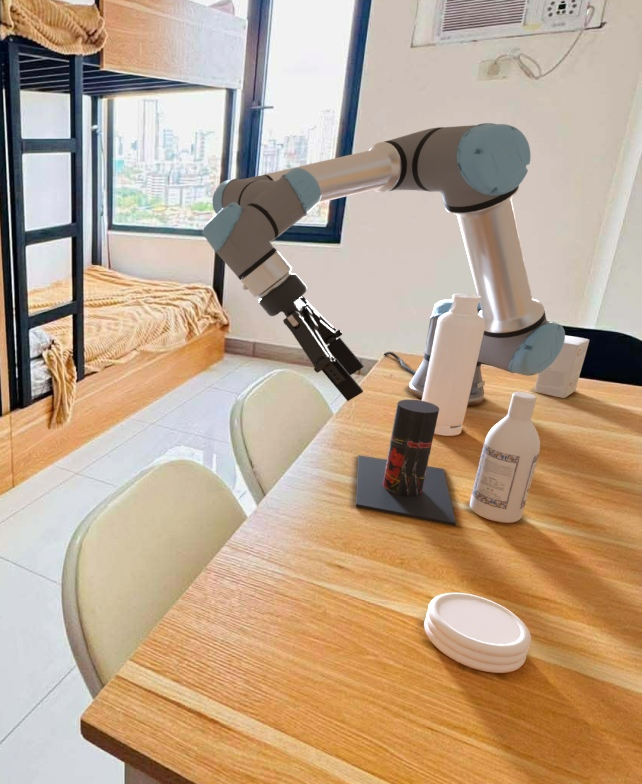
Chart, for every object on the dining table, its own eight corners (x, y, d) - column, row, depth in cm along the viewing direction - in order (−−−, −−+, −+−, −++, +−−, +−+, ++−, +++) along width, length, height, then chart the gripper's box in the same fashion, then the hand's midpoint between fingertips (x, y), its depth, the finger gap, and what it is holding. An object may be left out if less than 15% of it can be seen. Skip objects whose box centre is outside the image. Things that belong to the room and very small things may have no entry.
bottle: (464, 438, 126) (496, 301, 117) (419, 432, 129) (446, 298, 120) (457, 423, 134) (486, 293, 124) (414, 418, 136) (439, 290, 127)
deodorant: (427, 498, 103) (445, 413, 98) (388, 494, 104) (403, 411, 99) (415, 481, 109) (431, 400, 104) (378, 478, 110) (392, 398, 105)
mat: (358, 457, 119) (358, 455, 119) (443, 471, 113) (443, 468, 113) (355, 506, 102) (356, 504, 102) (455, 525, 96) (456, 523, 96)
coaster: (540, 651, 72) (548, 626, 70) (498, 689, 66) (506, 663, 65) (449, 603, 79) (455, 580, 78) (406, 634, 74) (411, 610, 73)
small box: (544, 384, 156) (558, 333, 151) (575, 391, 151) (590, 339, 146) (532, 391, 151) (546, 339, 147) (564, 398, 146) (579, 345, 142)
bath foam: (502, 501, 103) (531, 387, 96) (531, 524, 96) (566, 403, 90) (459, 501, 103) (486, 387, 96) (486, 524, 96) (517, 403, 90)
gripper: (266, 286, 118) (339, 373, 118) (244, 315, 97) (332, 421, 96) (300, 260, 114) (375, 349, 114) (285, 284, 93) (377, 394, 92)
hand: (356, 382), depth 105 cm, fingers open, 13 cm apart
